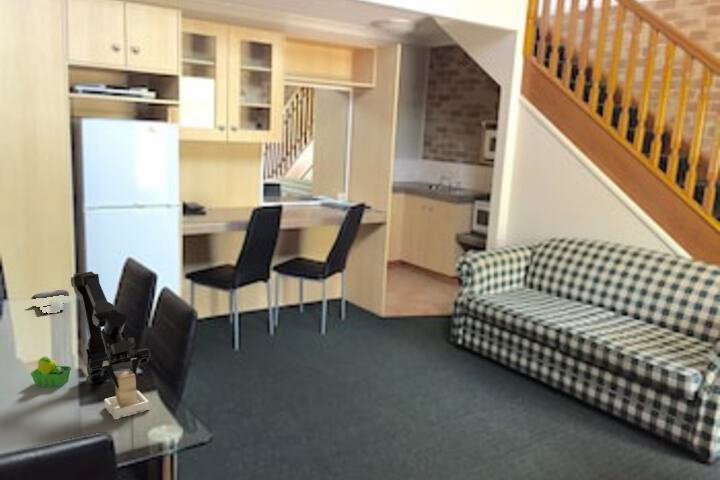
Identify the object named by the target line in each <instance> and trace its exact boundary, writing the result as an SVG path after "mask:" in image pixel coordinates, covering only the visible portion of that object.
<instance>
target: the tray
mask: <svg viewBox="0 0 720 480" xmlns="http://www.w3.org/2000/svg"><path fill="white" fill-rule="evenodd" d="M136 392H137V399H138V400H139V401H140V402H141V403H138V404H134V405H130V406H127V407H123V408H120V407H119V405H118V404H117V403H116V395H115V396H112V397H108V398H107V397H106V398H104V408H105V410H106V409H107V410H108V411H109V412H108V411H107V410H106V411H107V412H108V413H109V415H110V414H111V415H112V416H113V417H114V418H117V417H120V416H122V415H125V414H128V413H131V412H136V411H140V410H143V409H147V408H149V409H150V401H149V400H148V399H147V398H146V397H145V396H144V394H142V392H141V391H140V390H139V389H138V390H137V389H136ZM118 408H120V409H118ZM111 415H110V416H111ZM112 416H111V417H112ZM113 417H112V418H113ZM114 418H113V419H114Z"/></svg>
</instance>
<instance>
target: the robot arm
mask: <svg viewBox="0 0 720 480" xmlns="http://www.w3.org/2000/svg"><path fill="white" fill-rule="evenodd" d="M100 282H101V281H100V278H99V273H94V272H93V271H85V272H79V273H78V272H77V273H73V276H71V277H70V283H71V285H70V286H71V287H72V288H73V291H74V293H75V294H76V295H77V296H78V297H79V298H80V300H81V306H82V310H83V317H84V320H85V324H86V330H87V331H86V332H87V335H88V338H87V341H86V343H85V349H84V353H83V356H82V357H83V358H82V359H83V364H85V365H86V367H87V368H86V371H87V376H86V377H87V379H88V380H89V381H91V382H92V383H98V382H101V381H105V380H108V381H109V382H111V384H112V385H113V386H114V388H115V387H116V388H119V386H118V382H117V379H116V376H115V374H114V373H115V372H114V367H115V366H119V365H122V364H128V363H129V367H128V368H129V370H131V371H132V372H133V373H134V374H135V378H136V379H137V370H138V368H139V367H140V365H143V364H146V363H148V362H149V361H150V359H151V356H152V353H151V350H150V349H149V348H147V347H146V348H142V349H141V348H140V349H138V350H136V351H135V354H132V355H130V351H131V349H133V348H135V347H137V346H136V341H135V340H136V339H135V338H134V336H133V337H132V336H131V337H128V338H126V340H124V339H123V337H122V333H123V331H124V327H125V325H126V322H127V319H126V316H125V315H124V314H123V313H122V312H120V311H118V309H116V308H115V306H114V304H113V303H112V302H109V301H108V300H107V297H106V295H105V293H104V291H103V288H102V285H101V283H100Z"/></svg>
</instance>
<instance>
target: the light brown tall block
mask: <svg viewBox="0 0 720 480" xmlns="http://www.w3.org/2000/svg"><path fill="white" fill-rule="evenodd" d="M114 374H115V376H116V379H117V382H118V386H119V388H116V387H115V386H114V390H115V391H114V392H115V396H116V403H117V404H118V405H119V407H120V408H123V407H127V406H130V405H134V404H137V392H136V391H137V377H136V378H135V374H134V373H133V372H132V371H131V370H130V369H127V370H123V371H119V372H116V373H115V372H114Z"/></svg>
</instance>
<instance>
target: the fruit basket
mask: <svg viewBox="0 0 720 480" xmlns="http://www.w3.org/2000/svg"><path fill="white" fill-rule="evenodd" d="M37 365H38V367H37V368H36V369H34V370H32V371H31V372H30V373H29V374H30V376H31V377H32V380H33V382H34V383H35V386H37V387H55V388H57V387H58V388H60V387H62V386H64V384H67V383H66V382H69V378H70V374H71V370H72V366H70V365H68V366H66V365H65V366H64V365H56V361H55V359H51V358H49V357H48V356H42V357H41V358H39V360H38V362H37Z"/></svg>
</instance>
